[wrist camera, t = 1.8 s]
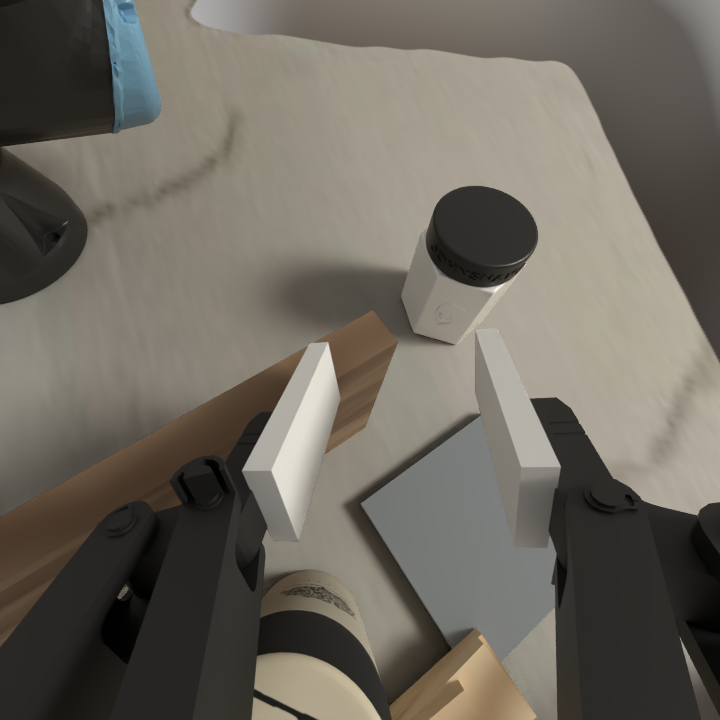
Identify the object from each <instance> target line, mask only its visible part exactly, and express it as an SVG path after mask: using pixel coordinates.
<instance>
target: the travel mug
mask: <svg viewBox="0 0 720 720" xmlns="http://www.w3.org/2000/svg"><path fill="white" fill-rule="evenodd" d="M252 720H392V717H391V713H390V709H389V705H388V701H387V698H386V695H385V692H384V689H383V685H382V682H381V679H380V676H379V672H378V669H377V666H376V663H375V660H374V656H373V653H372V650H371V647H370V644H369V640H368V637H367V634H366V631H365V627H364V624H363V621H362V618H361V615H360V611H359V608H358V606H357V603H356V601H355V599H354V597H353V595H352V594H351V592H350V591H349V590H348V588H347V587H346V586H345V585H344V584H343V583H342V582H341V581H339V580H338V579H337V578H335V577H334V576H332V575H330V574H328V573H325V572H321V571H316V570H305V571H299V572H296V573H293V574H290V575H288V576H286V577H285V578H283V579H281V580H280V581H279V582H277V583H276V584H275V585H274V586H273V587H272V588H271V589H270V590H269V591H268V592H267V593H266V595H265V596H264V597H263V598H262V602H261V614H260V626H259V638H258V650H257V661H256V673H255V685H254V697H253V709H252Z"/></svg>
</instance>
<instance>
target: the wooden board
mask: <svg viewBox="0 0 720 720" xmlns="http://www.w3.org/2000/svg"><path fill="white" fill-rule="evenodd" d="M321 342H328V344H329V348H330V353H331V357H332V362H333V366H334V371H335V375H336V380H337V384H338V389H339V393H340V398H341V399H340V402H339V405H338V409H337V412H336V416H335V419H334V423H333V426H332V429H331V433H330V436H329V440H328V443H327V446H326V450H325V453H324V454H326V453H327V452H329V451H330V450H332V449H333V448H335V447H336V446H338V445H339V444H341V443H342V442H344V441H345V440H347V439H348V438H350V437H351V436H353V435H354V434H356V433H357V432H359V431H360V430H362V429H363V428H365V426H366V424H367V421H368V418H369V416H370V413H371V411H372V408H373V405H374V403H375V400H376V398H377V395H378V392H379V390H380V387H381V385H382V382H383V379H384V377H385V374H386V372H387V369H388V366H389V364H390V361H391V358H392V356H393V353H394V351H395V348H396V345H397V343H398V341H397V340H396V339H395V337H394V336H393V335H392V334H391V332H390V331H389V330H388V328H387V327H386V326H385V325H384V323H383V322H382V321H381V320H380V318H379V317H378V316H377V314H376V313H375V312H374V311H373V310H372V311H370V312H368V313H367V314H365V315H363V316H361V317H359V318H358V319H356V320H354V321H352V322H350V323H349V324H347V325H345V326H343V327H341V328H340V329H338V330H336V331H334V332H332V333H331V334H329V335H327V336H325V337H323V338H322V339H320V340H318V341H316V342H314V343H321ZM307 347H308V346H307ZM307 347H305V348H304V349H302V350H300V351H298V352H296V353H295V354H293V355H291V356H289V357H287V358H286V359H284V360H282V361H280V362H278V363H277V364H275V365H273V366H271V367H269V368H268V369H266V370H264V371H262V372H260V373H259V374H257V375H255V376H253V377H251V378H250V379H248V380H246V381H244V382H242V383H241V384H239V385H237V386H235V387H233V388H232V389H230V390H228V391H226V392H224V393H223V394H221V395H219V396H217V397H215V398H214V399H212V400H210V401H208V402H206V403H205V404H203V405H201V406H199V407H197V408H196V409H194V410H192V411H190V412H188V413H187V414H185V415H183V416H181V417H179V418H178V419H176V420H174V421H172V422H170V423H169V424H167V425H165V426H163V427H161V428H160V429H158V430H156V431H154V432H152V433H151V434H149V435H147V436H145V437H143V438H142V439H140V440H138V441H136V442H134V443H133V444H131V445H129V446H127V447H125V448H124V449H122V450H120V451H118V452H116V453H115V454H113V455H111V456H109V457H107V458H106V459H104V460H102V461H100V462H98V463H97V464H95V465H93V466H91V467H89V468H88V469H86V470H84V471H82V472H80V473H79V474H77V475H75V476H73V477H72V478H70V479H68V480H66V481H64V482H63V483H61V484H59V485H57V486H55V487H54V488H52V489H50V490H48V491H46V492H45V493H43V494H41V495H39V496H37V497H36V498H34V499H32V500H30V501H28V502H27V503H25V504H23V505H21V506H19V507H18V508H16V509H14V510H12V511H10V512H9V513H7V514H5V515H3V516H1V517H0V646H1V645H3V643H4V642H5V641H6V640H7V638H8V637H9V636H10V634H11V633H12V632H13V631H14V629H15V628H16V627H17V626H18V624H19V623H20V622H21V621H22V619H23V618H24V617H25V616H26V614H27V613H28V612H29V611H30V609H31V608H32V607H33V606H34V604H35V603H36V602H37V601H38V599H39V598H40V597H41V596H42V594H43V593H44V592H45V591H46V589H47V588H48V587H49V586H50V584H51V583H52V582H53V580H54V579H55V578H56V577H57V575H58V574H59V573H60V572H61V570H62V569H63V568H64V567H65V565H66V564H67V563H68V562H69V560H70V559H71V558H72V557H73V555H74V554H75V553H76V552H77V550H78V549H79V548H80V547H81V545H82V544H83V543H84V542H85V540H86V539H87V538H88V537H89V535H90V534H91V533H92V532H93V530H94V529H95V528H96V526H97V525H98V524H99V523H100V522H101V521H102V520H103V519H104V518H105V517H106V516H107V515H108V514H110V513H111V512H112V511H114V510H115V509H117V508H118V507H121V506H123V505H125V504H127V503H130V502H135V501H143V502H147V503H148V504H149V505H150V507H151V508H152V510H153V511H154V512H157V511H160V510H164V509H167V508H171V507H175V506H178V505H181V504H182V503H181V501H180V499H179V498H178V496H177V494H176V493H175V491H174V489H173V488H172V486H171V484H170V482H169V481H170V479H171V478H172V476H173V475H174V473H175V472H176V471H178V470H179V469H180V468H181V467H182V466H183V465H185V464H186V463H188V462H190V461H192V460H193V459H196V458H199V457H202V456H210V455H214V456H217V457H220V458H221V459H222V460H223V461H224V462H225V461H226V460H227V458H228V456H229V455H230V453H231V451H232V450H233V448H234V446H236V443H237V441H238V440H239V438H240V436H242V433H243V431H244V430H245V428H246V426H247V425H248V423H249V422H250V421H251V420H252V419H253V418H254V417H256V416H257V415H258V414H259V413H260V412H273V411H274V409H275V408H276V406H277V404H278V402H279V400H280V398H281V396H282V394H283V393H284V391H285V389H286V387H287V385H288V383H289V381H290V379H291V378H292V376H293V374H294V372H295V370H296V368H297V366H298V364H299V363H300V361H301V359H302V357H303V355H304V353H305V351H306V349H307ZM124 587H126V584H125V585H124ZM124 587H123V588H124ZM123 588H122V589H123Z"/></svg>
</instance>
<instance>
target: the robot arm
mask: <svg viewBox="0 0 720 720" xmlns="http://www.w3.org/2000/svg"><path fill="white" fill-rule="evenodd" d="M160 111H161V99H160V94H159V91H158V87H157V83H156V80H155V76H154V72H153V69H152V65H151V61H150V58H149V54H148V51H147V47H146V43H145V40H144V36H143V33H142V30H141V26H140V22H139V19H138V15H137V12H136V7H135V4H134V0H0V304H2V303H7V302H11V301H14V300H18V299H21V298H24V297H26V296H29V295H31V294H34V293H36V292H38V291H40V290H42V289H43V288H45V287H47V286H49V285H50V284H52V283H53V282H55V281H56V280H57V279H59V278H60V277H61V276H62V275H63V274H65V273H66V272H67V271H68V270H69V269H70V268H71V267H72V265H73V264H74V263H75V262H76V260H77V259H78V257H79V256H80V254H81V252H82V250H83V248H84V246H85V243H86V239H87V223H86V220H85V217H84V215H83V213H82V211H81V210H80V209H79V207H78V206H77V205H76V204H75V203H74V201H73V200H72V199H71V198H70V196H69V195H68V194H67V193H66V192H65V191H64V190H63V189H62V188H61V187H59V186H58V185H57V184H55V183H54V182H53V181H51V180H50V179H48V178H47V177H45V176H44V175H42V174H41V173H39V172H38V171H37V170H35V169H34V168H32V167H31V166H29V165H28V164H26V163H25V162H24V161H22V160H21V159H19V158H18V157H16V156H15V155H13V154H12V153H10V152H9V151H8V150H6V149H5V148H3V147H2V146H10V145H18V144H26V143H34V142H42V141H50V140H58V139H66V138H74V137H82V136H90V135H98V134H106V133H112V134H113V133H119V132H120V130H123V129H127V128H132V127H136V126H141V125H146V124H150V123H151V122H153V121H154V120H155V119H156V118H157V117H158V116H159V114H160ZM475 393H476V397H477V401H478V405H479V409H480V413H481V417H482V421H483V425H484V429H485V433H486V437H487V441H488V445H489V449H490V453H491V457H492V461H493V465H494V469H495V473H496V477H497V481H498V485H499V489H500V493H501V497H502V501H503V505H504V509H505V513H506V517H507V521H508V525H509V529H510V533H511V537H512V541H513V545H514V547H524V548H548V542H549V536H551V539H552V542H553V545H554V548H555V551H556V553H557V554H556V560H555V565H554V570H553V576H552V581H551V584H552V585H555V617H556V665H557V712H558V720H701V717H700V713H699V709H698V706H697V702H696V698H695V694H694V690H693V687H692V683H691V679H690V675H689V671H688V667H687V664H686V660H685V656H684V652H683V648H682V645H681V641H680V638H681V640H682V642H683V644H684V646H685V648H686V650H687V652H688V654H689V656H690V658H691V660H692V662H693V664H694V666H695V668H696V670H697V672H698V674H699V676H700V678H701V680H702V682H703V684H704V686H705V688H706V690H707V692H708V694H709V696H710V698H711V700H712V702H713V704H714V706H715V707H716V709H717V711H718V713H719V715H720V502H719V503H711V504H708V505H706V506H705V507H703V508H702V509H701V510H700V511H699V514H698V516H697V515H693V514H688V513H684V512H680V511H676V510H671V509H667V508H663V507H659V506H656V505H653V504H650V503H647V502H645V501H643V500H641V498H640V496H638V495H637V494H636V493H635V492H634V491H633V490H632V489H631V488H630V487H628V486H627V485H625V484H623V483H621V482H619V481H618V480H616V479H613V477H612V476H611V474H610V473H609V471H608V469H607V468H606V466H605V464H604V463H603V461H602V459H601V458H600V456H599V454H598V453H597V451H596V449H595V448H594V446H593V444H592V443H591V441H590V439H589V438H588V436H587V435H585V431H584V429H583V428H582V426H581V424H579V421H578V419H577V418H576V416H575V414H574V413H573V411H572V410H571V408H570V407H568V406H567V405H566V404H564V403H563V402H562V401H560V400H559V399H558V398H535V399H529V396H528V394H527V392H526V390H525V388H524V386H523V383H522V381H521V379H520V377H519V375H518V373H517V370H516V368H515V366H514V364H513V362H512V360H511V357H510V355H509V353H508V351H507V349H506V346H505V344H504V342H503V340H502V338H501V336H500V333H499V331H498V329H497V328H492V329H480V330H475ZM340 399H341V398H340V393H339V389H338V384H337V380H336V375H335V371H334V366H333V362H332V357H331V353H330V348H329V344H328V342H321V343H310V344H309V346H308V347H307V349H306V351H305V353H304V355H303V357H302V359H301V361H300V363H299V364H298V366H297V368H296V370H295V372H294V374H293V376H292V378H291V379H290V381H289V383H288V385H287V387H286V389H285V391H284V393H283V394H282V396H281V398H280V400H279V402H278V404H277V406H276V408H275V409H274V411H273V412H260V413H259V414H258V415H257V416H256V417H254V418H253V419H252V420H251V421H250V422H249V423H248V425H247V426H246V428H245V430H244V431H243V433H242V436H240V438H239V440H238V441H237V443H236V446H234V448H233V450H232V451H231V453H230V455H229V456H228V458H227V460H226V461H225V462H224V461H223V460H222V459H221V458H220V457H217V456H214V455H210V456H202V457H199V458H196V459H193V460H192V461H190V462H188V463H186V464H185V465H183V466H182V467H181V468H180V469H179V470H178V471H176V472H175V473H174V475H173V476H172V478H171V479H170V481H169V482H170V484H171V486H172V488H173V489H174V491H175V493H176V494H177V496H178V498H179V499H180V501H181V503H182V504H181V505H178V506H175V507H171V508H167V509H164V510H160V511H157V512H154V511H153V510H152V508H151V507H150V505H149V504H148V503H147V502H143V501H135V502H130V503H127V504H125V505H123V506H121V507H118V508H117V509H115V510H114V511H112V512H111V513H110V514H108V515H107V516H106V517H105V518H104V519H103V520H102V521H101V522H100V523H99V524H98V525H97V526H96V528H95V529H94V530H93V532H92V533H91V534H90V535H89V537H88V538H87V539H86V540H85V542H84V543H83V544H82V545H81V547H80V548H79V549H78V550H77V552H76V553H75V554H74V555H73V557H72V558H71V559H70V560H69V562H68V563H67V564H66V565H65V567H64V568H63V569H62V570H61V572H60V573H59V574H58V575H57V577H56V578H55V579H54V580H53V582H52V583H51V584H50V586H49V587H48V588H47V589H46V591H45V592H44V593H43V594H42V596H41V597H40V598H39V599H38V601H37V602H36V603H35V604H34V606H33V607H32V608H31V609H30V611H29V612H28V613H27V614H26V616H25V617H24V618H23V619H22V621H21V622H20V623H19V624H18V626H17V627H16V628H15V629H14V631H13V632H12V633H11V634H10V636H9V637H8V638H7V640H6V641H5V642H4V643H3V645H2V646H1V647H0V720H252V709H253V697H254V685H255V673H256V661H257V650H258V638H259V626H260V614H261V602H262V590H263V578H264V566H265V549H264V546H263V544H262V540H263V537H264V535H265V532H266V530H267V529H268V531H269V534H270V536H271V538H272V540H273V541H296V542H299V539H300V535H301V532H302V528H303V525H304V522H305V518H306V515H307V511H308V508H309V504H310V501H311V498H312V494H313V491H314V487H315V484H316V481H317V477H318V474H319V470H320V467H321V463H322V460H323V457H324V453H325V450H326V446H327V443H328V440H329V436H330V433H331V429H332V426H333V423H334V419H335V416H336V412H337V409H338V405H339V402H340ZM125 584H126V586H127V587H128V588H129V590H128V591H127V593H126V594H125V595H124V596H123V597H122V599H118V598H117V596H118V595H119V593H120V592H121V590H122V588H123V587H124V585H125ZM679 636H680V637H679Z"/></svg>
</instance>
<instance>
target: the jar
mask: <svg viewBox="0 0 720 720" xmlns="http://www.w3.org/2000/svg"><path fill="white" fill-rule="evenodd" d="M537 241H538V230H537V226H536V223H535V221H534V218H533V217H532V215H531V214H530V212H529V211H528V210H527V208H526V207H525V206H524V205H523V204H521V203H520V202H519V201H518V200H516V199H515V198H514V197H512V196H510V195H508V194H507V193H504V192H502V191H499V190H497V189H493V188H489V187H484V186H467V187H461V188H458V189H455V190H453V191H451V192H449V193H447V194H446V195H445V196H443V197H442V198H441V199H440V200H439V202H438V203H437V205H436V207H435V209H434V212H433V215H432V218H431V221H430V224H429V227H428V228H427V229H426V230H424V231H423V232H422V233H421V234H420V237H419V240H418V243H417V247H416V250H415V253H414V256H413V259H412V262H411V265H410V269H409V272H408V275H407V278H406V281H405V284H404V288H403V291H402V294H401V298H402V301H403V304H404V307H405V309H406V312H407V315H408V318H409V321H410V324H411V327H412V330H413V332H414V333H417V334H420V335H424V336H427V337H431V338H434V339H438V340H441V341H445V342H448V343H451V344H455V345H457V344H458V343H459V342H460V341H461V340H462V339H464V338H465V337H466V336H467V335H468V334H469V333H470V332H471V331H472V330H473V329H474V328H475V327H476V326H477V325H478V324H479V323H480V322H481V321H482V320H483V319H484V318H485V317H486V316H487V314H488V313H489V312H490V310H491V309H492V308H493V306H494V305H495V304H496V303H497V301H498V300H499V299H500V297H501V296H502V295H503V294H504V292H505V291H506V290H507V288H508V287H509V286H510V284H511V283H512V282H513V281H514V279H515V278H516V277H517V275H518V274H519V273H520V272H521V270H522V269H523V268H524V266H525V265H526V261H527V260H528V259H529V257H530V256H531V255H532V253H533V252H534V250H535V248H536V245H537Z"/></svg>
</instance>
